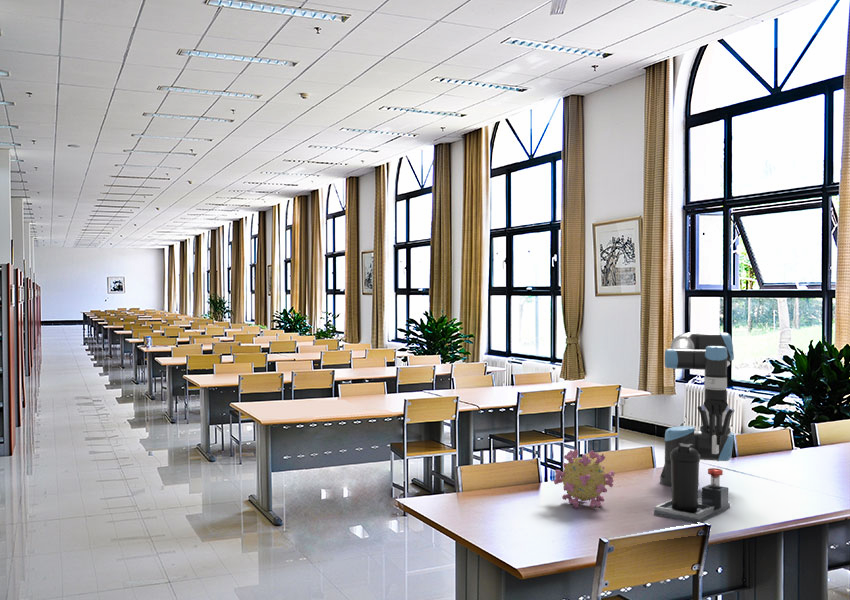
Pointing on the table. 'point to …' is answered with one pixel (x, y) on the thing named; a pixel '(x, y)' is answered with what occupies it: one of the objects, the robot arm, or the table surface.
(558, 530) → the table surface
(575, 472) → the educational model
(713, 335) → the robot arm
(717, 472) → the pin
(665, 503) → the press
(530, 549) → the table surface
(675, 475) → the water bottle
